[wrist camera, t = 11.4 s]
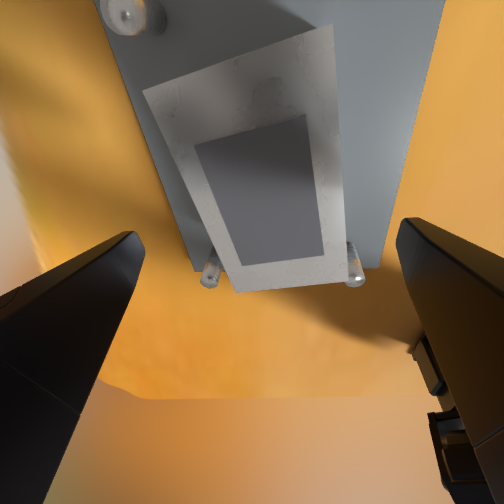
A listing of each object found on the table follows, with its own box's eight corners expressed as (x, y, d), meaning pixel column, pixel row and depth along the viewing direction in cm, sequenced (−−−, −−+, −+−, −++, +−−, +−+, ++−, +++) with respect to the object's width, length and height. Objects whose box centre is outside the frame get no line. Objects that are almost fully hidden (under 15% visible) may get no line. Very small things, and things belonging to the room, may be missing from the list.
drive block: (317, 27, 11) (333, 23, 7) (334, 225, 17) (349, 282, 13) (187, 73, 12) (140, 91, 8) (246, 239, 18) (235, 294, 14)
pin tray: (462, -120, 9) (557, -206, 6) (374, 259, 19) (391, 300, 16) (94, -32, 11) (20, -57, 8) (198, 263, 22) (183, 300, 19)
